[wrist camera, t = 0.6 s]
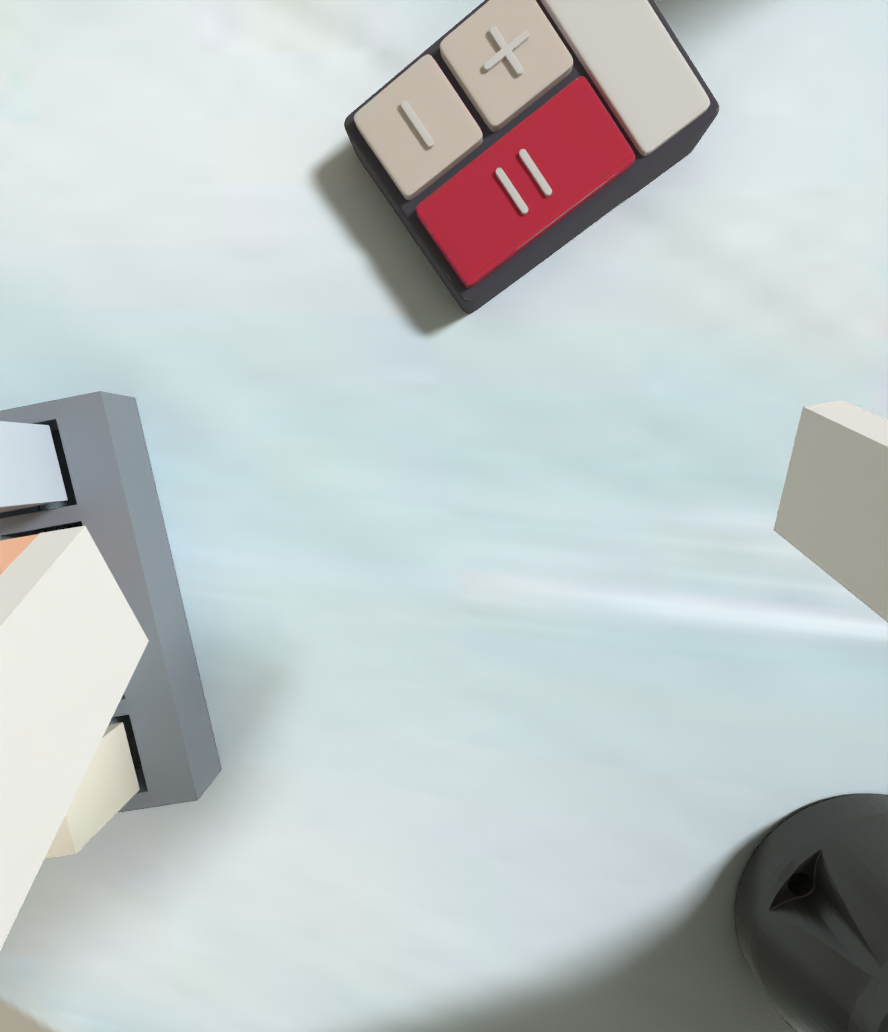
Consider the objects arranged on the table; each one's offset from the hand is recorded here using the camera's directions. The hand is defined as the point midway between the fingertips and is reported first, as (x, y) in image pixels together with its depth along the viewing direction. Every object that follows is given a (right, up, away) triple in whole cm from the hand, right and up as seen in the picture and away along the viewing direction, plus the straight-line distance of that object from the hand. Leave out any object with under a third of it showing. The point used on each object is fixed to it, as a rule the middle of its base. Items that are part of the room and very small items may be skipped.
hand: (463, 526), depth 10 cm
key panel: (-21, -5, +22) cm, 31 cm away
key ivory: (-20, -13, +20) cm, 31 cm away
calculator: (+4, +20, +20) cm, 28 cm away
